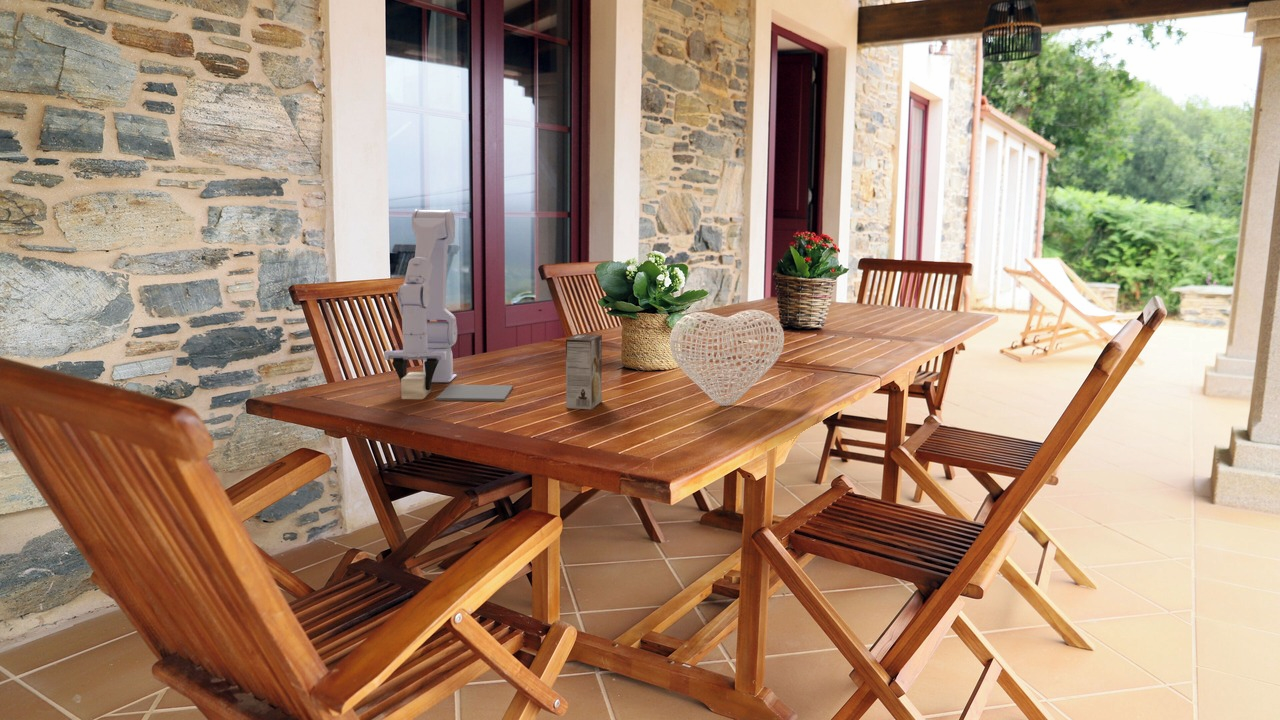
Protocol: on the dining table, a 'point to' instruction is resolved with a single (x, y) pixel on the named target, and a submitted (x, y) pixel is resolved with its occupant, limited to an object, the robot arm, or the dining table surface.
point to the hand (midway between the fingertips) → (416, 389)
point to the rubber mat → (475, 393)
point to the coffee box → (583, 371)
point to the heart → (727, 320)
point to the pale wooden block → (414, 386)
